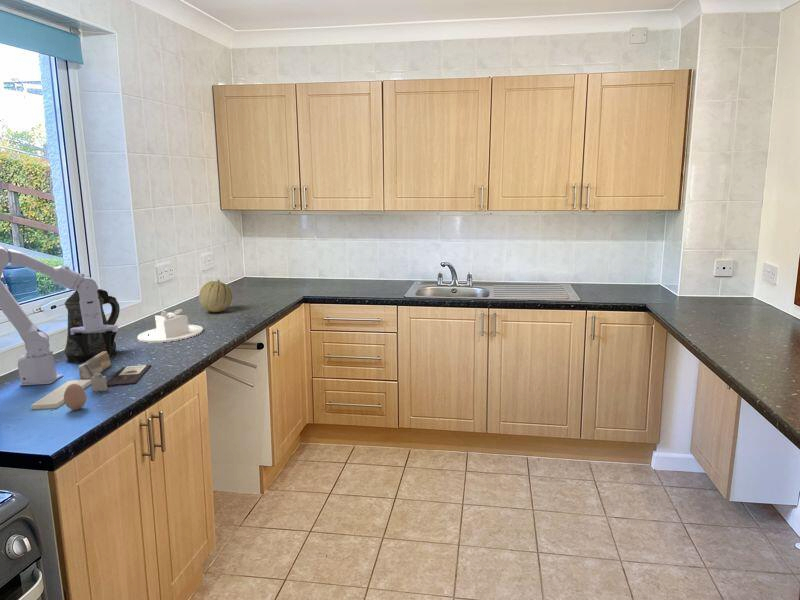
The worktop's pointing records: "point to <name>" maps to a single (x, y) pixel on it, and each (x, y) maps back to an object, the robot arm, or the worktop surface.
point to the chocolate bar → (128, 375)
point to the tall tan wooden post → (96, 364)
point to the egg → (74, 397)
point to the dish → (170, 328)
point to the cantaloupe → (215, 296)
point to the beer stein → (75, 320)
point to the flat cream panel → (58, 395)
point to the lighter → (95, 379)
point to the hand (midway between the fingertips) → (98, 353)
